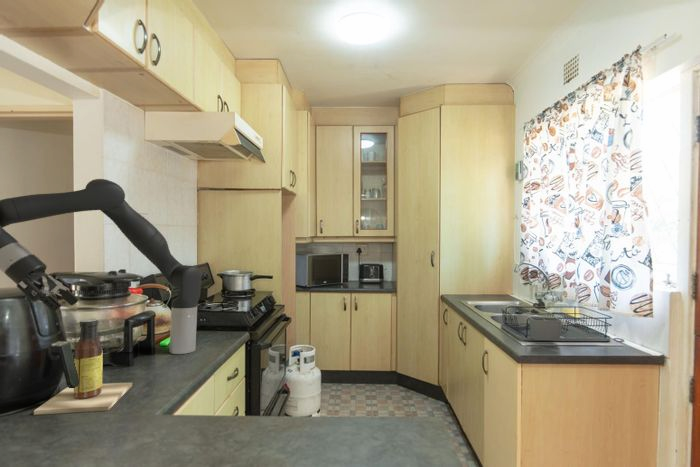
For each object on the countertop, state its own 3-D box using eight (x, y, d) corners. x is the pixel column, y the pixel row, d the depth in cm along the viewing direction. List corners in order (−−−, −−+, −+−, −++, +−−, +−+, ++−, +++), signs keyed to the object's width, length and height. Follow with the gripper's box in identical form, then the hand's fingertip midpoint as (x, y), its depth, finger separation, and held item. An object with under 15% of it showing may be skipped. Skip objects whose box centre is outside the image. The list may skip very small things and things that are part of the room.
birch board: (69, 388, 103) (69, 385, 103) (132, 386, 107) (132, 382, 107) (33, 414, 88) (34, 410, 88) (108, 410, 91) (108, 406, 91)
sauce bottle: (107, 391, 100) (111, 318, 101) (88, 400, 94) (93, 322, 94) (85, 389, 101) (89, 317, 101) (65, 398, 94) (70, 321, 95)
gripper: (12, 254, 91) (64, 300, 93) (47, 252, 104) (91, 292, 107) (-14, 276, 89) (39, 321, 92) (25, 271, 103) (69, 310, 105)
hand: (67, 305), depth 99 cm, fingers open, 8 cm apart
